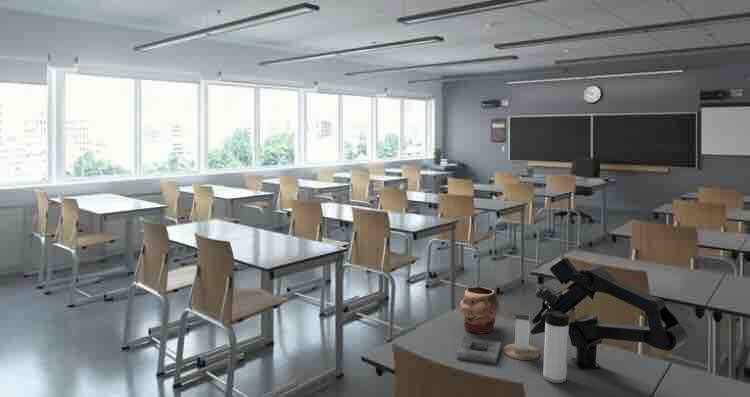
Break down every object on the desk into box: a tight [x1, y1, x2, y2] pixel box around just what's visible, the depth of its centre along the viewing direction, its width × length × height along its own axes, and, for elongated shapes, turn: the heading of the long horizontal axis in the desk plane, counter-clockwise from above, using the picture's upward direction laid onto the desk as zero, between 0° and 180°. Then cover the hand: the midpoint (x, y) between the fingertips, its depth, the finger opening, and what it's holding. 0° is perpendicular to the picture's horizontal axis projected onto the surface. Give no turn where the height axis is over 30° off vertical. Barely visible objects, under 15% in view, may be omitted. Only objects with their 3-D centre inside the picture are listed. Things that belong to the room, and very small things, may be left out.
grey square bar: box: [514, 309, 531, 354], centre depth 170 cm, size 4×4×12 cm
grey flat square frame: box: [456, 337, 502, 365], centre depth 171 cm, size 12×12×2 cm
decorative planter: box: [459, 286, 500, 334], centre depth 191 cm, size 20×12×14 cm, turn 142°
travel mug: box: [542, 310, 570, 384], centre depth 153 cm, size 6×7×20 cm
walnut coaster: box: [503, 343, 541, 361], centre depth 171 cm, size 11×11×1 cm
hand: (532, 327), depth 169 cm, fingers open, 9 cm apart
